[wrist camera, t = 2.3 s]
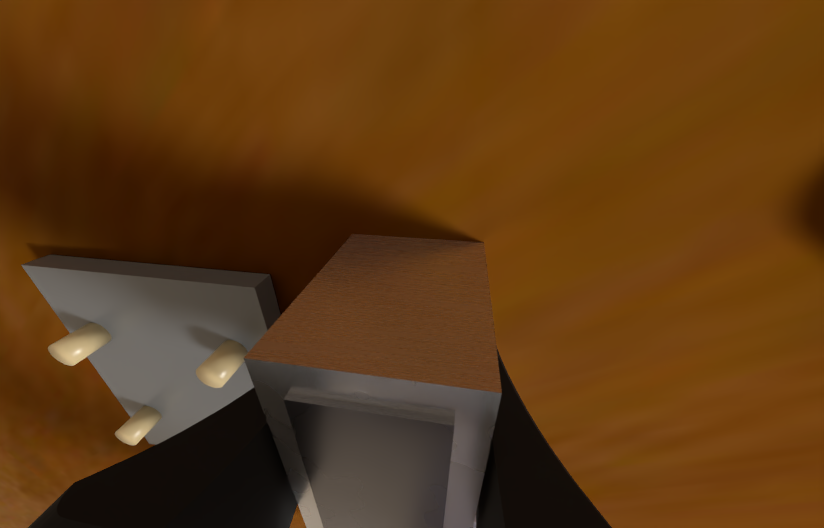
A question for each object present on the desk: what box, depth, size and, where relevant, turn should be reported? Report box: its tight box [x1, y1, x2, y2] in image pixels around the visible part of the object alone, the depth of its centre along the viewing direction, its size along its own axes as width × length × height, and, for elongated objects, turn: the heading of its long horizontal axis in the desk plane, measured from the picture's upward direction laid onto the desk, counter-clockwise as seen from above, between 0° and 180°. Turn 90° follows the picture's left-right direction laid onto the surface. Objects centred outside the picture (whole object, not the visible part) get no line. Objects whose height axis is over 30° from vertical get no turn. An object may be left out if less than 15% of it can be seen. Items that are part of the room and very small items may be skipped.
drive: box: [244, 234, 502, 528], centre depth 10 cm, size 8×5×6 cm, turn 0°
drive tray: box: [22, 255, 281, 445], centre depth 15 cm, size 13×11×2 cm
